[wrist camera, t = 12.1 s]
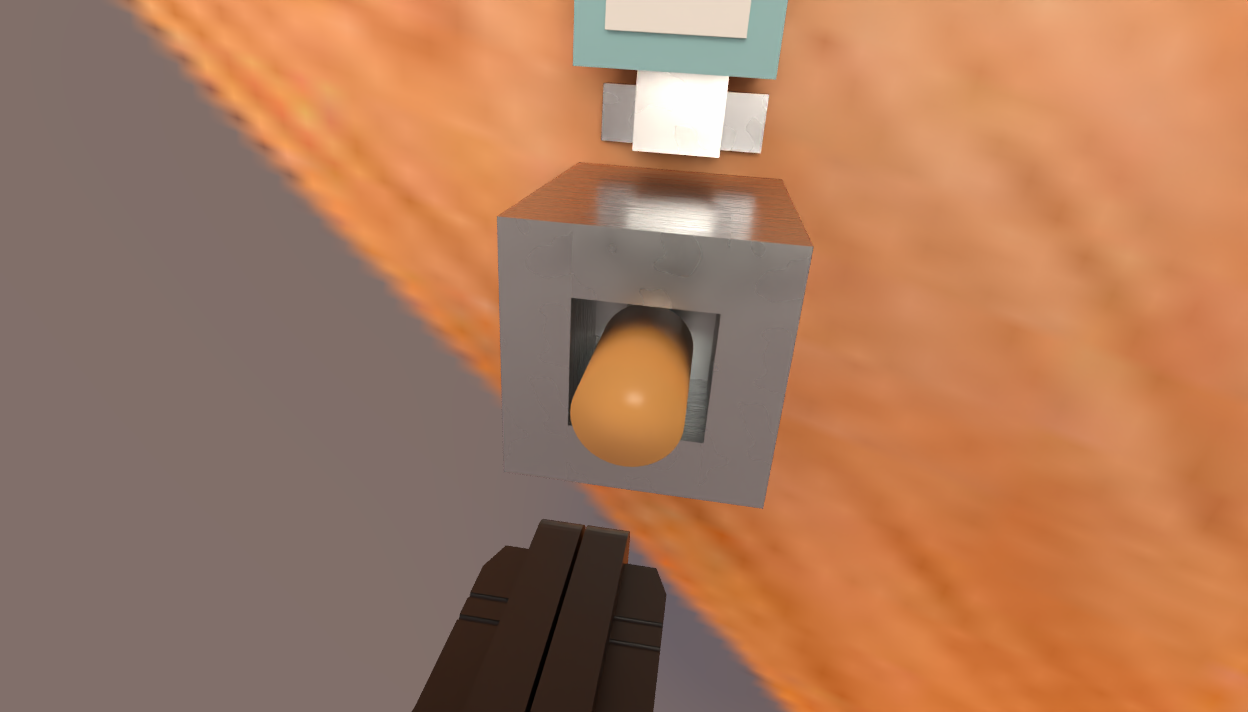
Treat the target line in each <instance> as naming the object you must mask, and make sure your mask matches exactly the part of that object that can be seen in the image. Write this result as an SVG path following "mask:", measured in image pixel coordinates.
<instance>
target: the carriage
mask: <svg viewBox="0 0 1248 712" xmlns="http://www.w3.org/2000/svg"><path fill="white" fill-rule="evenodd" d="M787 3H788V0H574V43H573V66H585V67H600V68H615V69H629V70H644V71H659V72H673V73H688V74H703V75H717V76H732V77H747V78H761V79H776V76H777V70H778V63H779V56H780V49H781V43H782V36H783V29H784V23H785V16H786V9H787Z"/></svg>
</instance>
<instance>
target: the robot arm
mask: <svg viewBox="0 0 1248 712" xmlns="http://www.w3.org/2000/svg"><path fill="white" fill-rule="evenodd" d="M629 543H630V531H623V530H616V529H609V528H602V527H595V526H587V527H586V529H585V525H581V524H574V523H567V522H560V521H554V520H547V519H542V520H541V522H540V523H539V525H538V528H537V530H536V533H535V535H534V538H533V540H532V543H531V545H530V548H529V549H525V548H518V547H512V546H505V547H504V548H503V549H502V550H501V551H500V552H498V553H497V554H496V555H495V556H494V557H493V558H491V560H490V561H488V562H487V563H486V564H485V565H484V566H483V567H482V569H481V572H480V574H479V576H478V578H477V580H476V582H475V584H474V586H473V588H472V590H471V593H470V597H469V598H467V600H466V603H465V604H464V607H463V609H462V611H461V613H460V617H459V620H457V621H456V623H455V625H454V627H453V630H452V631H451V633H450V635H449V638H448V640H447V642H446V644H445V646H444V648H443V650H442V652H441V654H440V656H439V658H438V660H437V662H436V665H435V667H434V669H433V671H432V673H431V675H430V677H429V679H428V681H427V683H426V685H425V687H424V689H423V691H422V693H421V695H420V697H419V699H418V702H417V704H416V706H415V707H414V709H413V711H412V712H653V708H654V699H655V690H656V682H657V673H658V663H659V655H660V646H661V638H662V628H663V620H664V611H665V602H666V592H665V590H664V587H663V585H662V582H661V579H660V577H659V574H658V571H657V569H656V568H651V567H644V566H638V565H631V564H628V555H629Z"/></svg>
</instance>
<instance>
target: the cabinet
mask: <svg viewBox="0 0 1248 712" xmlns="http://www.w3.org/2000/svg"><path fill="white" fill-rule="evenodd" d="M497 234H498V272H499V310H500V347H501V385H502V423H503V461H504V472H508V473H515V474H522V475H530V476H537V477H543V478H551V479H557V480H564V481H571V482H578V483H586V484H593V485H600V486H607V487H614V488H621V489H628V490H635V491H642V492H649V493H656V494H663V495H670V496H677V497H684V498H692V499H699V500H706V501H713V502H720V503H727V504H734V505H741V506H748V507H755V508H762V509H763V506H764V501H765V496H766V490H767V485H768V480H769V475H770V470H771V465H772V459H773V454H774V449H775V444H776V439H777V433H778V428H779V423H780V418H781V413H782V408H783V402H784V397H785V392H786V387H787V382H788V376H789V371H790V366H791V361H792V356H793V351H794V345H795V340H796V335H797V330H798V325H799V319H800V314H801V309H802V304H803V299H804V293H805V288H806V283H807V278H808V273H809V268H810V262H811V257H812V252H813V245H812V243H811V240H810V238H809V236H808V234H807V232H806V230H805V228H804V226H803V223H802V221H801V219H800V217H799V215H798V213H797V211H796V209H795V206H794V204H793V202H792V200H791V198H790V196H789V194H788V192H787V190H786V187H785V185H784V183H783V181H782V180H780V179H769V178H757V177H745V176H733V175H722V174H710V173H698V172H686V171H675V170H663V169H651V168H639V167H628V166H616V165H604V164H592V163H581V162H579V163H577V164H576V165H574V166H573V167H571V168H570V169H568V170H567V171H565V172H564V173H562V174H561V175H559V176H558V177H556V178H555V179H553V180H552V181H550V182H549V183H547V184H546V185H544V186H542V187H541V188H539V189H538V190H536V191H535V192H533V193H532V194H530V195H529V196H527V197H526V198H524V199H523V200H521V201H520V202H518V203H517V204H515V205H514V206H512V207H511V208H509V209H508V210H506V211H504V212H503V213H501V214H500V215H498V216H497ZM632 305H642V306H651V307H661V308H667V309H669V310H671V311H672V312H674V313H675V314H676V315H678V316H679V317H680V318H681V319H682V320H683V321H684V323H685V324H686V325H687V327H688V329H689V331H690V333H691V336H692V340H693V358H692V367H691V375H690V383H689V392H688V400H687V408H686V417H685V425H684V430H683V434H682V437H681V439H680V441H679V443H678V445H677V446H676V447H675V449H674V450H673V451H672V452H671V453H670V454H669V455H667V456H666V457H664V458H663V459H661V460H659V461H657V462H655V463H652V464H649V465H645V466H639V467H626V466H619V465H615V464H612V463H609V462H606V461H604V460H602V459H600V458H598V457H597V456H595V455H594V454H592V453H591V452H590V451H589V450H588V449H587V448H585V446H584V445H583V444H582V443H581V442H580V440H579V439H578V437H577V435H576V433H575V431H574V429H573V426H572V422H571V416H570V409H571V403H572V399H573V396H574V394H575V392H576V390H577V387H578V385H579V383H580V381H581V379H582V377H583V375H584V372H585V370H586V368H587V366H588V364H589V362H590V360H591V357H592V355H593V353H594V351H595V349H596V347H597V344H598V342H599V340H600V338H601V336H602V334H603V332H604V329H605V327H606V325H607V324H608V322H609V321H610V319H611V318H612V317H613V316H614V315H615V314H616V313H618V312H619V311H621V310H622V309H624V308H626V307H629V306H632Z"/></svg>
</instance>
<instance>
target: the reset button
mask: <svg viewBox="0 0 1248 712" xmlns="http://www.w3.org/2000/svg"><path fill="white" fill-rule="evenodd" d="M692 358H693V340H692V336H691V333H690V331H689V329H688V327H687V325H686V324H685V323H684V321H683V320H682V319H681V318H680V317H679V316H678V315H676V314H675V313H674V312H672V311H671V310H669V309H667V308H661V307H651V306H642V305H632V306H629V307H626V308H624V309H622V310H621V311H619V312H618V313H616V314H615V315H614V316H613V317H612V318H611V319H610V321H609V322H608V324H607V325H606V327H605V329H604V332H603V334H602V336H601V338H600V340H599V342H598V344H597V347H596V349H595V351H594V353H593V355H592V357H591V360H590V362H589V364H588V366H587V368H586V370H585V372H584V375H583V377H582V379H581V381H580V383H579V385H578V387H577V390H576V392H575V394H574V396H573V399H572V403H571V409H570V416H571V422H572V426H573V429H574V431H575V433H576V435H577V437H578V439H579V440H580V442H581V443H582V444H583V445H584V446H585V448H587V449H588V450H589V451H590V452H591V453H592V454H594V455H595V456H597V457H598V458H600V459H602V460H604V461H606V462H609V463H612V464H615V465H619V466H626V467H639V466H645V465H649V464H652V463H655V462H657V461H659V460H661V459H663V458H664V457H666V456H667V455H669V454H670V453H671V452H672V451H673V450H674V449H675V447H676V446H677V445H678V443H679V441H680V439H681V437H682V434H683V430H684V425H685V417H686V408H687V400H688V392H689V383H690V375H691V367H692Z"/></svg>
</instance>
